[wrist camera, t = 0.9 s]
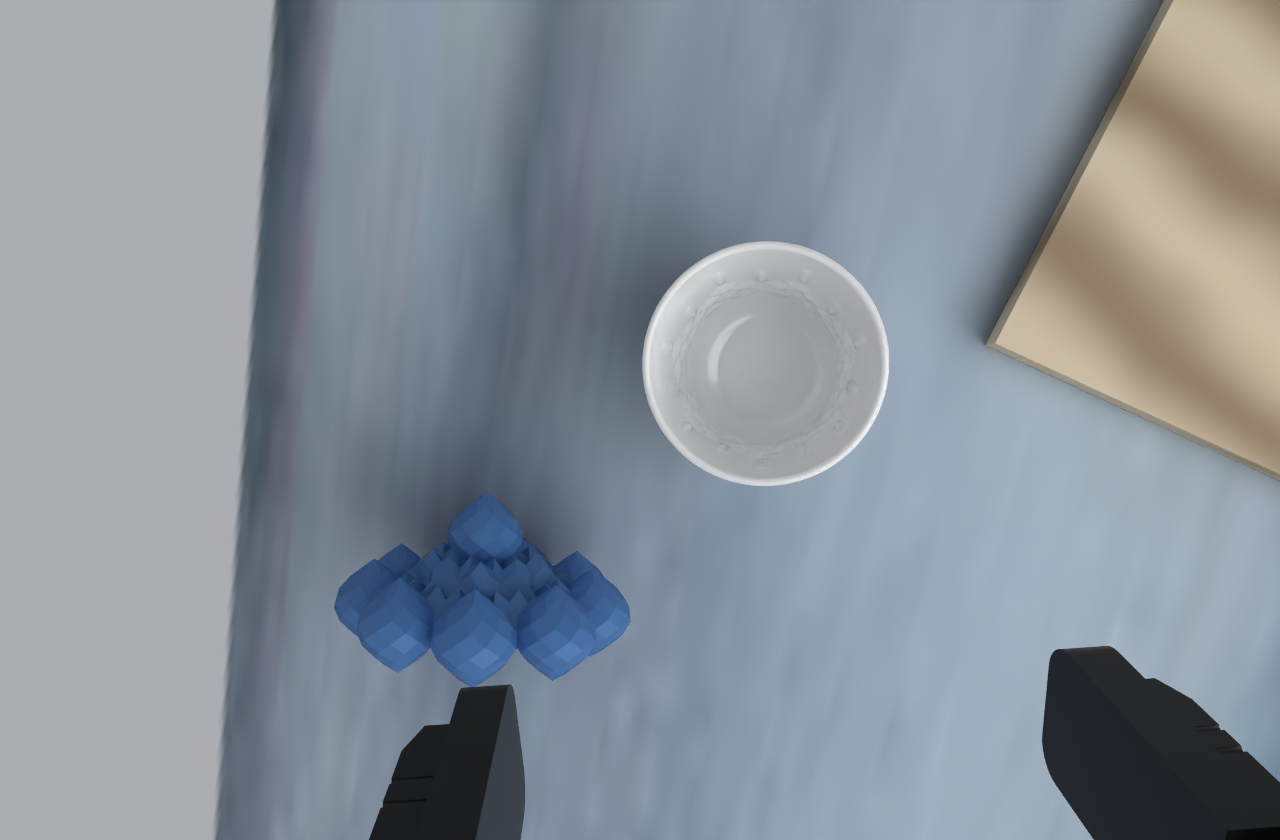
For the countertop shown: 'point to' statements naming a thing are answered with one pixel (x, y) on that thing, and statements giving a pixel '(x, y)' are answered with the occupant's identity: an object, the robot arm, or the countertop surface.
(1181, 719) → the robot arm
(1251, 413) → the oak board
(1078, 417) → the countertop surface
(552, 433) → the countertop surface
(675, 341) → the white cup
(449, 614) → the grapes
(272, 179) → the countertop surface
